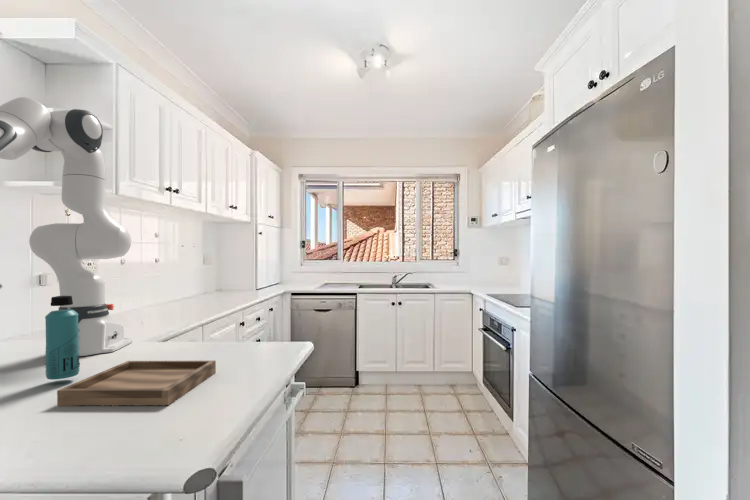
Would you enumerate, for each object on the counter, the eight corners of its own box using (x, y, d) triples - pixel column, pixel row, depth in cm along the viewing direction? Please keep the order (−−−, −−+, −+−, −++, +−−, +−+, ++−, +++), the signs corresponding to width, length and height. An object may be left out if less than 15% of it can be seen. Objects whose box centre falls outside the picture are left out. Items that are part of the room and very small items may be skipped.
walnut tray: (128, 373, 103) (128, 360, 103) (215, 372, 102) (215, 360, 102) (57, 405, 81) (57, 390, 81) (168, 405, 80) (167, 390, 80)
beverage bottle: (61, 387, 93) (60, 297, 93) (37, 385, 94) (36, 297, 94) (87, 378, 99) (86, 294, 99) (64, 377, 100) (63, 294, 100)
